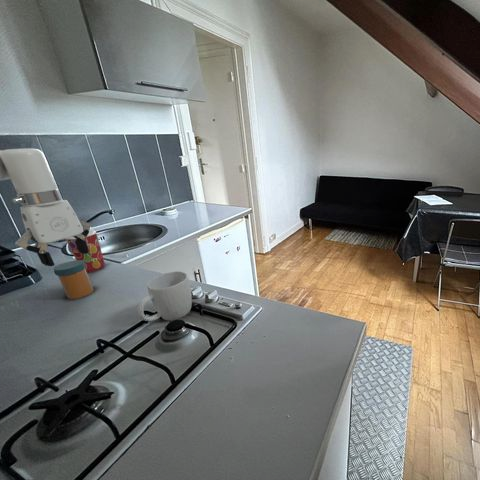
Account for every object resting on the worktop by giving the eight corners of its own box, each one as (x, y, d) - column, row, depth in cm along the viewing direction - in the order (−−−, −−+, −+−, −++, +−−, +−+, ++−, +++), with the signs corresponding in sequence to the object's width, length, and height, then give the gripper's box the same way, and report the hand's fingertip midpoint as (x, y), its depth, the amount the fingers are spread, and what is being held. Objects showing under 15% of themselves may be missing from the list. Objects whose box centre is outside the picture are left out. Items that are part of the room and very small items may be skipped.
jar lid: (50, 274, 74) (47, 268, 73) (76, 264, 80) (74, 259, 79) (65, 277, 72) (62, 271, 71) (91, 266, 78) (89, 261, 77)
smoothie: (106, 262, 100) (88, 212, 93) (110, 269, 95) (91, 216, 88) (78, 270, 95) (56, 217, 88) (80, 277, 89) (57, 221, 82)
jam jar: (63, 298, 77) (50, 269, 74) (85, 288, 82) (74, 261, 79) (76, 301, 75) (64, 272, 72) (98, 290, 80) (88, 263, 77)
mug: (182, 300, 74) (173, 268, 70) (202, 308, 70) (195, 275, 66) (134, 326, 64) (121, 291, 60) (155, 338, 59) (143, 301, 56)
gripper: (3, 206, 59) (37, 274, 66) (87, 192, 75) (108, 248, 81) (-15, 205, 62) (19, 271, 68) (70, 191, 77) (92, 246, 83)
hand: (67, 258), depth 75 cm, fingers open, 7 cm apart
